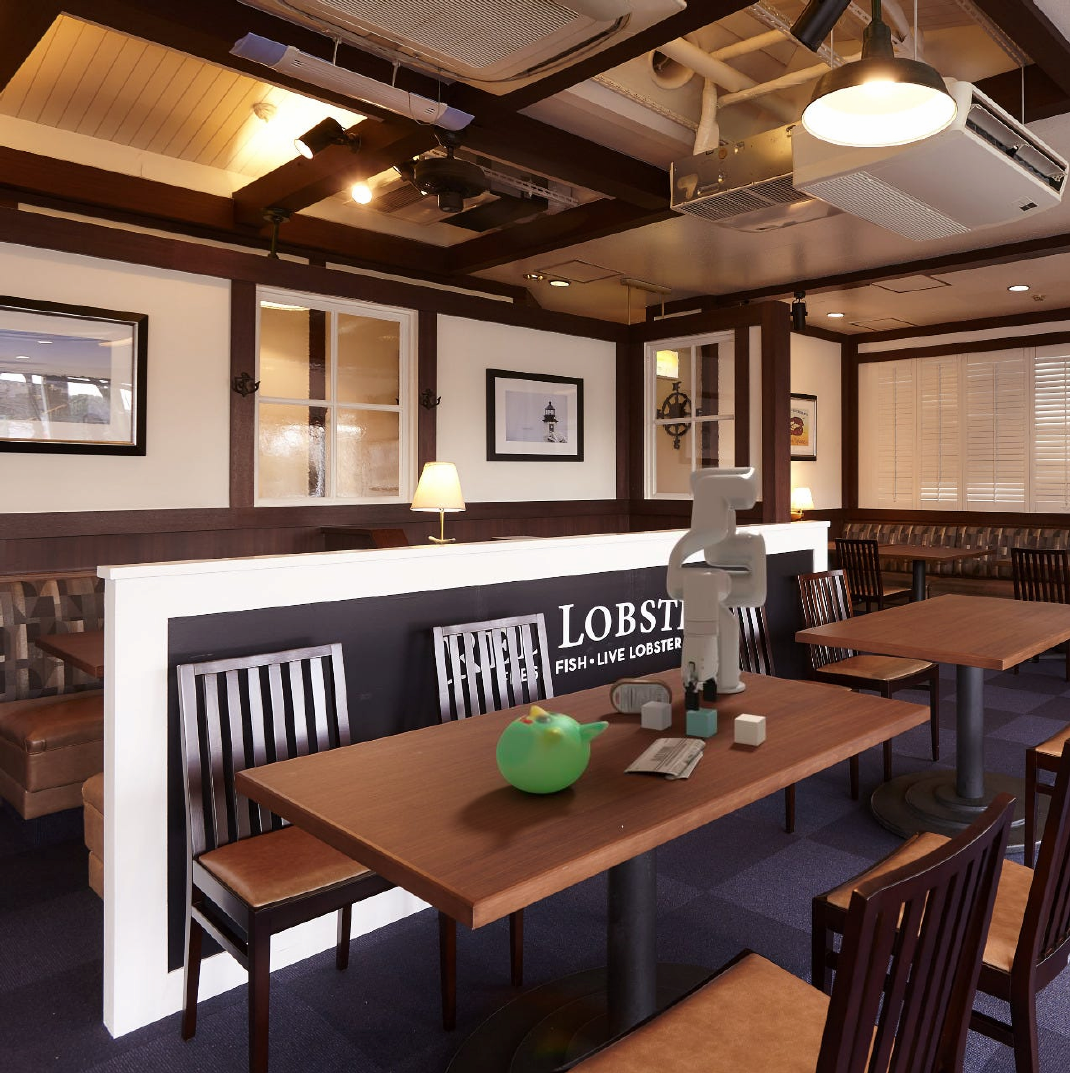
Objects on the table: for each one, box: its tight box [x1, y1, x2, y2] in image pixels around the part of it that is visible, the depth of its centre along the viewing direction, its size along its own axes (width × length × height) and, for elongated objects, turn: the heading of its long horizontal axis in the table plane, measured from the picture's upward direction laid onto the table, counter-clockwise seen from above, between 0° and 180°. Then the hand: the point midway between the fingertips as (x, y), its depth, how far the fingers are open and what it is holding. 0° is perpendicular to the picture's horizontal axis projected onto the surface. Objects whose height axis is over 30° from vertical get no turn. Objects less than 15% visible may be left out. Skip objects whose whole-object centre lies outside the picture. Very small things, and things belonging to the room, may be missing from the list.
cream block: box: [734, 713, 767, 747], centre depth 181 cm, size 5×5×5 cm
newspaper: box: [623, 737, 706, 781], centre depth 170 cm, size 23×12×2 cm, turn 155°
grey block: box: [641, 701, 672, 731], centre depth 193 cm, size 5×5×5 cm
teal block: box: [685, 707, 718, 739], centre depth 187 cm, size 5×5×5 cm
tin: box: [609, 677, 673, 715], centre depth 204 cm, size 15×3×8 cm, turn 84°
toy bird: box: [495, 705, 610, 794], centre depth 154 cm, size 18×17×15 cm
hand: (701, 705), depth 186 cm, fingers open, 9 cm apart
